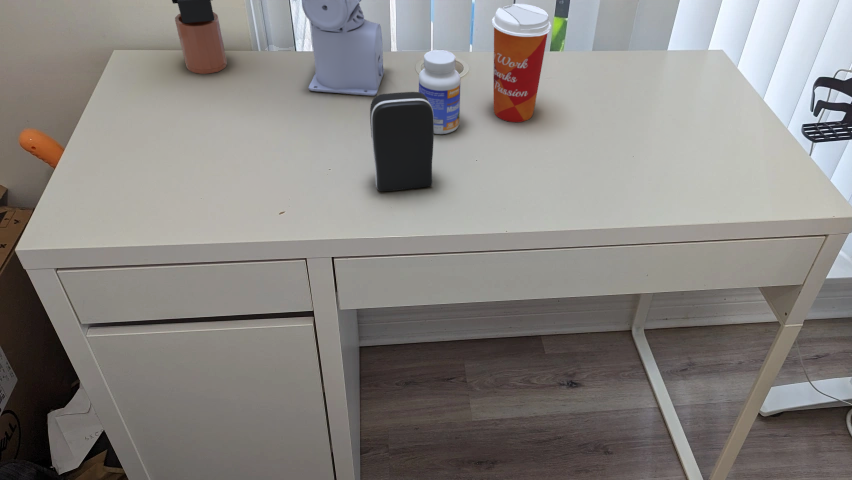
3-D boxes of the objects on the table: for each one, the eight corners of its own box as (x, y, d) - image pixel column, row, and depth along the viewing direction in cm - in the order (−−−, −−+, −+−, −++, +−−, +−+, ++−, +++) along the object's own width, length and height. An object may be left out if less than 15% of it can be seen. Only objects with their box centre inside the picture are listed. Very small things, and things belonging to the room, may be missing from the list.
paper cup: (474, 108, 101) (479, 9, 92) (514, 93, 106) (523, -3, 96) (512, 132, 97) (522, 31, 88) (552, 115, 102) (565, 18, 92)
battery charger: (428, 170, 89) (428, 85, 82) (434, 187, 87) (435, 101, 79) (371, 176, 88) (366, 89, 80) (376, 194, 85) (371, 106, 77)
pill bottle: (453, 138, 95) (455, 69, 89) (413, 131, 96) (413, 62, 89) (463, 118, 99) (466, 51, 93) (425, 111, 100) (425, 44, 93)
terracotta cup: (232, 58, 107) (223, 11, 103) (220, 75, 103) (210, 27, 98) (194, 54, 107) (183, 8, 102) (180, 72, 103) (168, 24, 98)
